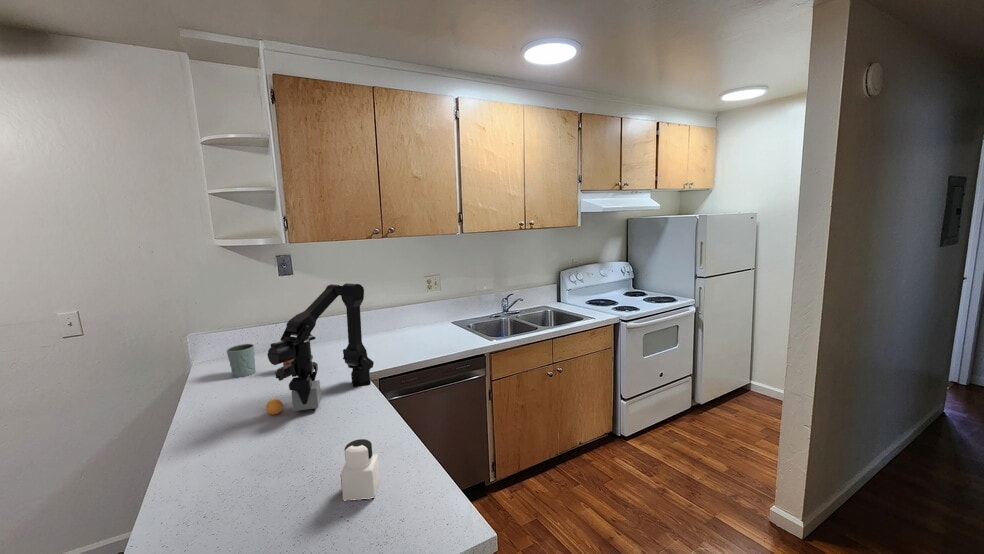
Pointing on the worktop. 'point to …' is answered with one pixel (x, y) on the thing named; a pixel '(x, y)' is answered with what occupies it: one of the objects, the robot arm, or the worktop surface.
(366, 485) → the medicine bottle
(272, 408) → the ball
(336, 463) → the worktop surface
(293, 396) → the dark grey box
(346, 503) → the worktop surface
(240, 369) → the green plant pot
